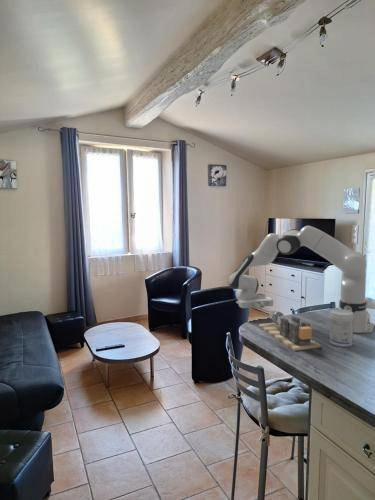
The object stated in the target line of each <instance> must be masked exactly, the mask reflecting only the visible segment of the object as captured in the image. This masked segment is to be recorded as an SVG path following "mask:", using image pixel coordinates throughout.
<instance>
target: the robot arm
mask: <svg viewBox="0 0 375 500" xmlns="http://www.w3.org/2000/svg"><path fill="white" fill-rule="evenodd" d="M301 247H306V248H308V249H309V250H311V251H313V252H314V253H316V254H318V255H319V257H322V258H324V259H325V260H327V261H328V262H329V263H330V264H332V265H333V266H335V267H336V268H337V269H339V270H341V277H340V278H341V280H340V299H339V303H338V305H339V306H338V309H345V310H349V311H352V312H353V316H354V325H353V334H354V333H355V334H357V333H359V334H362V333H368V334H370V333H371V334H372V333H373V331H374V329H375V322H372V321H371V314H370V313H369V311H368V310H367V304H368V301H367V300H366V282H367V281H366V275H367V273H366V272H367V260H366V257H365V255H364V253H361V252H360V251H356V250H355V251H354V250H353V249H351V248H350V247H348V246H347V245H345V244H343V243H342V242H341V241H340V240H338V239H336V238H334V237H333V236H332V235H329V234H328V233H326V231H325V232H324V231H322V230H320V229H319V228H316V227H314V226H312V225H305V226H303V227H302V228H301V229H298V228H293V229H289V230H287V231H286V232H284V233H282V235H279V234H277V233H274V232H273V233H271V232H270V233H269V234H267V235H266V236H265V238H264V239H263V240H262V241H261V243H260V245H259V246H258V247H257V249H255V251H253V252H252V253H249V254H248V255H247V256H246V257H244V259H243V261H242V262H241V263H240V264H239V265H238V267H237V268H236V269H235V270H234V272H232V273H231V274H230V275H229V277H228V280H227V281H228V282H227V283H228V285H229V287H230V288H231V289H232V290H236V291H235V297H236V301H235V303H236V304H238V307H239V308H241V309H248V308H249V309H255V308H258V309H262V308H265V307H272V306H274V299H273V298H271V297H270V296H267V295H265V294H263V293H257V292H258V289H259V286H260V285H259V280H258V279H257V277H256V276H253V275H248V274H246V272H247V271H248V270H250V268H253V267H257V266H268V265H270V264H271V263H272V262H274V260H275V259H276V258H277V256H278V254H279V253H280V254H281V255H284V256H285V255H286V256H287V255H288V256H289V255H291V254H293V253H295V252H296V251H297V250H298V249H300V248H301Z"/></svg>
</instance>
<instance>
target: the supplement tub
mask: <svg viewBox="0 0 375 500" xmlns="http://www.w3.org/2000/svg"><path fill="white" fill-rule="evenodd" d="M329 314H330V315H329V316H330V317H329V319H330V320H329V342H330V343H331V344H332V345H334V346H336V347H343V348H349V347H352V346H353V343H354V332H353V325H354V316H353V312H352V311H349V310H345V309H339V308H335V309H331V310H330V313H329Z"/></svg>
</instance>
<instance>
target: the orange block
mask: <svg viewBox="0 0 375 500" xmlns="http://www.w3.org/2000/svg"><path fill="white" fill-rule="evenodd" d="M312 332H313V328H312V327H311V326H310V327H309V326H306V327H301V326H300V327H299V338H300V339H302V340H304V339H311V340H313V337H312V336H313V335H312V334H313V333H312Z"/></svg>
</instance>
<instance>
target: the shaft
mask: <svg viewBox="0 0 375 500" xmlns="http://www.w3.org/2000/svg"><path fill="white" fill-rule="evenodd" d="M268 317H269V319H270V320H272V323H276V324H280V318H283V317H284V318H286V319H288V329H289V330H290V323H295V324H297V325H298V331H299V323H297V322H295V321H293V320H292V318H289V317H287V316H285V315H284V314H283V313H282V312H281V311H276V310H271V311H269V314H268Z"/></svg>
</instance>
